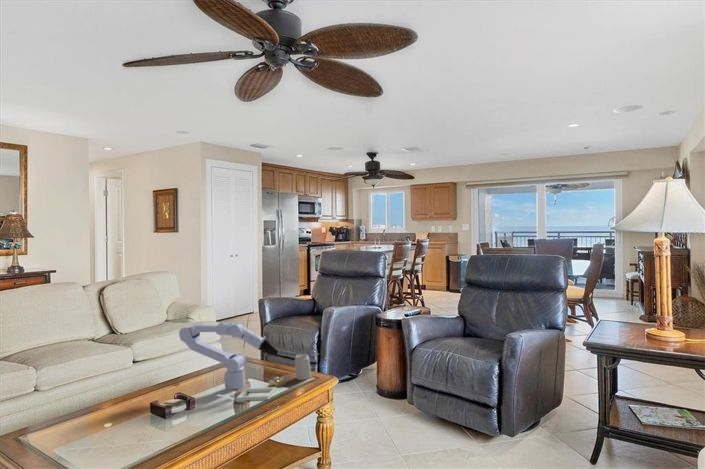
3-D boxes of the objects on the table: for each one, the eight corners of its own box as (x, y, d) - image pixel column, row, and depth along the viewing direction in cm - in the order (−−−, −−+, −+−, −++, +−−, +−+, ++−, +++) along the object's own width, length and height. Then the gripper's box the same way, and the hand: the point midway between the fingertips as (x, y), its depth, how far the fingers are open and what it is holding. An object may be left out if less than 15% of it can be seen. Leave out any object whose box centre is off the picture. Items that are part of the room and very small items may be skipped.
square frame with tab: (276, 387, 203) (275, 382, 203) (269, 385, 206) (268, 380, 206) (288, 381, 209) (288, 377, 209) (281, 380, 213) (281, 375, 213)
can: (310, 380, 210) (308, 356, 210) (295, 382, 210) (293, 357, 210) (312, 375, 218) (309, 352, 218) (297, 377, 218) (295, 353, 218)
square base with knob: (266, 389, 203) (265, 380, 203) (272, 383, 211) (271, 374, 211) (282, 388, 202) (281, 379, 202) (287, 383, 210) (286, 374, 210)
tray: (236, 402, 190) (236, 397, 190) (246, 393, 201) (246, 388, 201) (268, 401, 188) (268, 396, 188) (276, 391, 199) (276, 387, 199)
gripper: (254, 329, 203) (278, 343, 201) (259, 333, 217) (282, 346, 215) (246, 342, 201) (270, 356, 199) (251, 346, 214) (274, 359, 212)
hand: (276, 352), depth 207 cm, fingers open, 7 cm apart
